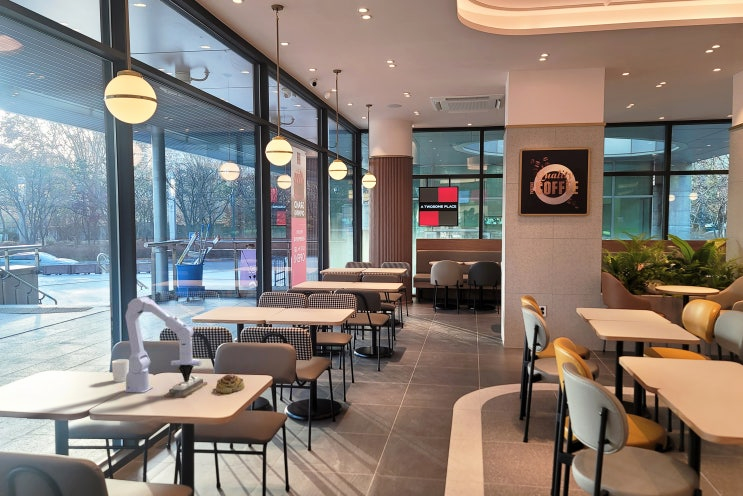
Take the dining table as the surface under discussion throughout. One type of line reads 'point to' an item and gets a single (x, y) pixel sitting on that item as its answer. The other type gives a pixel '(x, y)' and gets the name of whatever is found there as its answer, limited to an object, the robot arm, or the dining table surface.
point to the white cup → (120, 369)
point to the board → (186, 390)
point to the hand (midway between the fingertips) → (186, 380)
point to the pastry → (229, 384)
